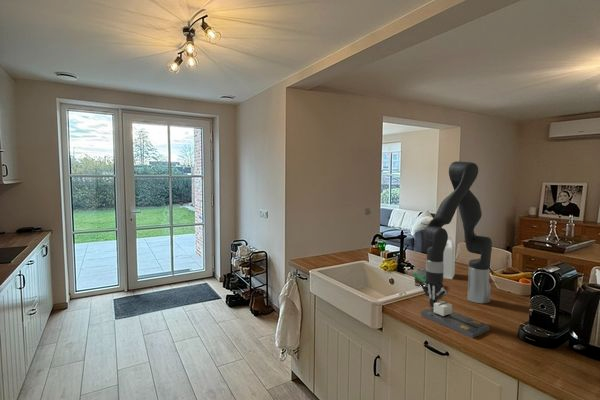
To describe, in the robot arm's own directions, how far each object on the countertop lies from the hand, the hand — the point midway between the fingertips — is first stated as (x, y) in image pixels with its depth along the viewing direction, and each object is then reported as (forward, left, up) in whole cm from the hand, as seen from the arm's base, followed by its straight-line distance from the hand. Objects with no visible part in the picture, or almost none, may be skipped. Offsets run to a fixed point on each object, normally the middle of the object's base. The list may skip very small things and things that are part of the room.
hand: (433, 306), depth 148 cm
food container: (-12, -37, -4) cm, 39 cm away
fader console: (-5, +9, -4) cm, 11 cm away
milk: (-32, -56, -4) cm, 65 cm away
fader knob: (-2, +4, -1) cm, 5 cm away
